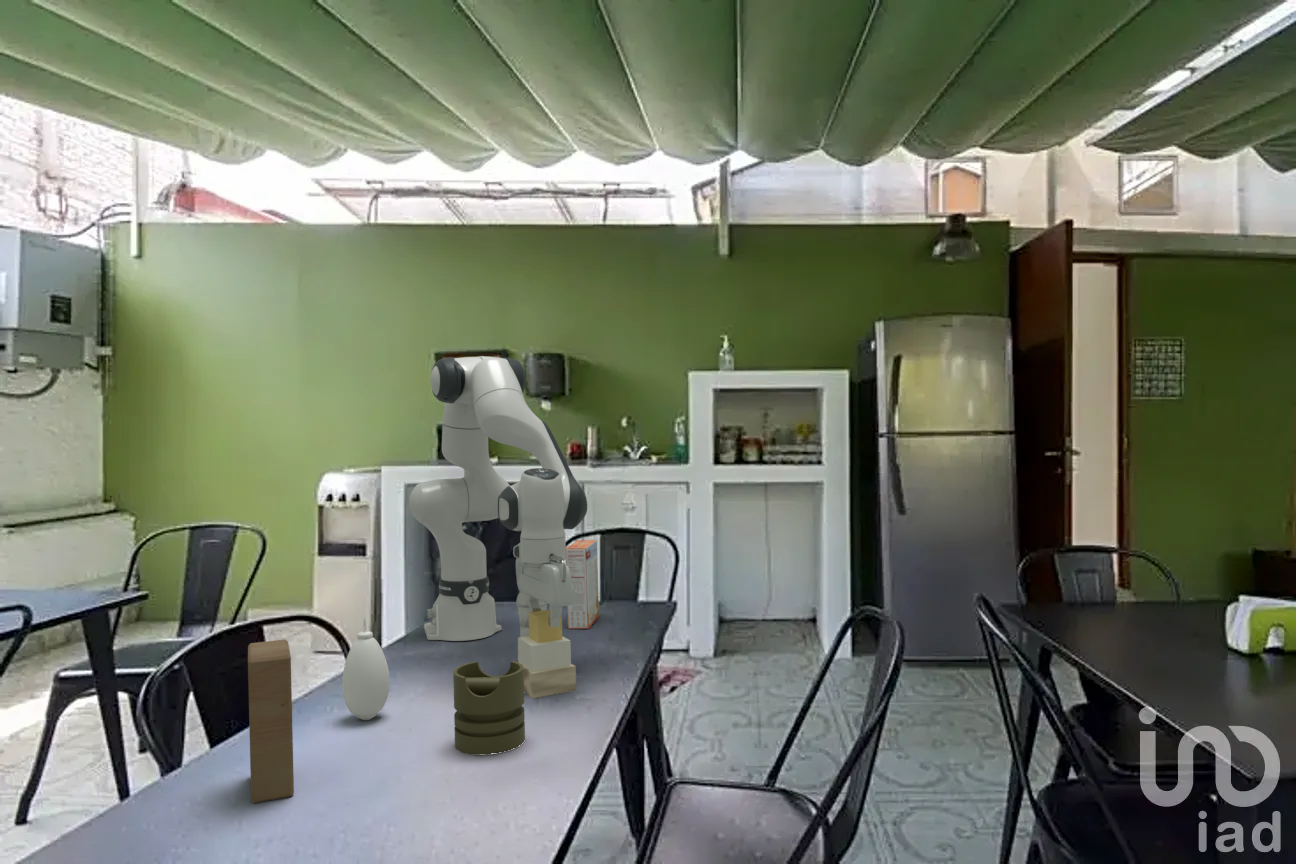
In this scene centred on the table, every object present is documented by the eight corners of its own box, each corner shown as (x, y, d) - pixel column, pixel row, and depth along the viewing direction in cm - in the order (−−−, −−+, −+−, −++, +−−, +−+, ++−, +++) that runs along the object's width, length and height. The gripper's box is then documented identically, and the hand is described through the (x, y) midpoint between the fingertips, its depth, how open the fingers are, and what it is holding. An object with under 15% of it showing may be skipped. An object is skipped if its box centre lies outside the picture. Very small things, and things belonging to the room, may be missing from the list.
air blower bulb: (398, 713, 158) (396, 614, 157) (371, 727, 150) (369, 623, 150) (362, 709, 160) (360, 612, 160) (334, 723, 153) (331, 621, 153)
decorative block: (251, 775, 130) (248, 642, 130) (292, 769, 132) (289, 638, 132) (249, 805, 120) (246, 660, 120) (294, 797, 122) (290, 655, 122)
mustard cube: (552, 634, 174) (552, 609, 174) (562, 639, 170) (561, 614, 170) (529, 637, 172) (528, 612, 172) (538, 642, 168) (537, 617, 168)
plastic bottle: (544, 674, 181) (542, 578, 181) (513, 672, 182) (511, 577, 182) (553, 665, 187) (551, 572, 187) (523, 664, 188) (521, 572, 188)
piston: (516, 678, 136) (445, 679, 137) (518, 755, 137) (446, 755, 137) (528, 659, 148) (462, 660, 148) (530, 729, 148) (464, 730, 148)
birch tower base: (515, 687, 173) (515, 662, 173) (557, 680, 177) (557, 655, 177) (533, 699, 165) (532, 673, 165) (576, 691, 169) (575, 666, 169)
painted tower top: (518, 662, 173) (517, 637, 173) (556, 656, 176) (555, 632, 176) (532, 672, 165) (531, 646, 165) (571, 666, 169) (570, 640, 169)
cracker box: (577, 617, 234) (576, 539, 234) (599, 617, 233) (598, 539, 233) (565, 629, 220) (564, 547, 220) (589, 629, 219) (587, 547, 219)
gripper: (580, 556, 163) (581, 630, 163) (538, 544, 181) (540, 610, 181) (548, 559, 160) (550, 634, 160) (510, 547, 178) (511, 614, 178)
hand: (544, 621), depth 171 cm, fingers open, 8 cm apart
